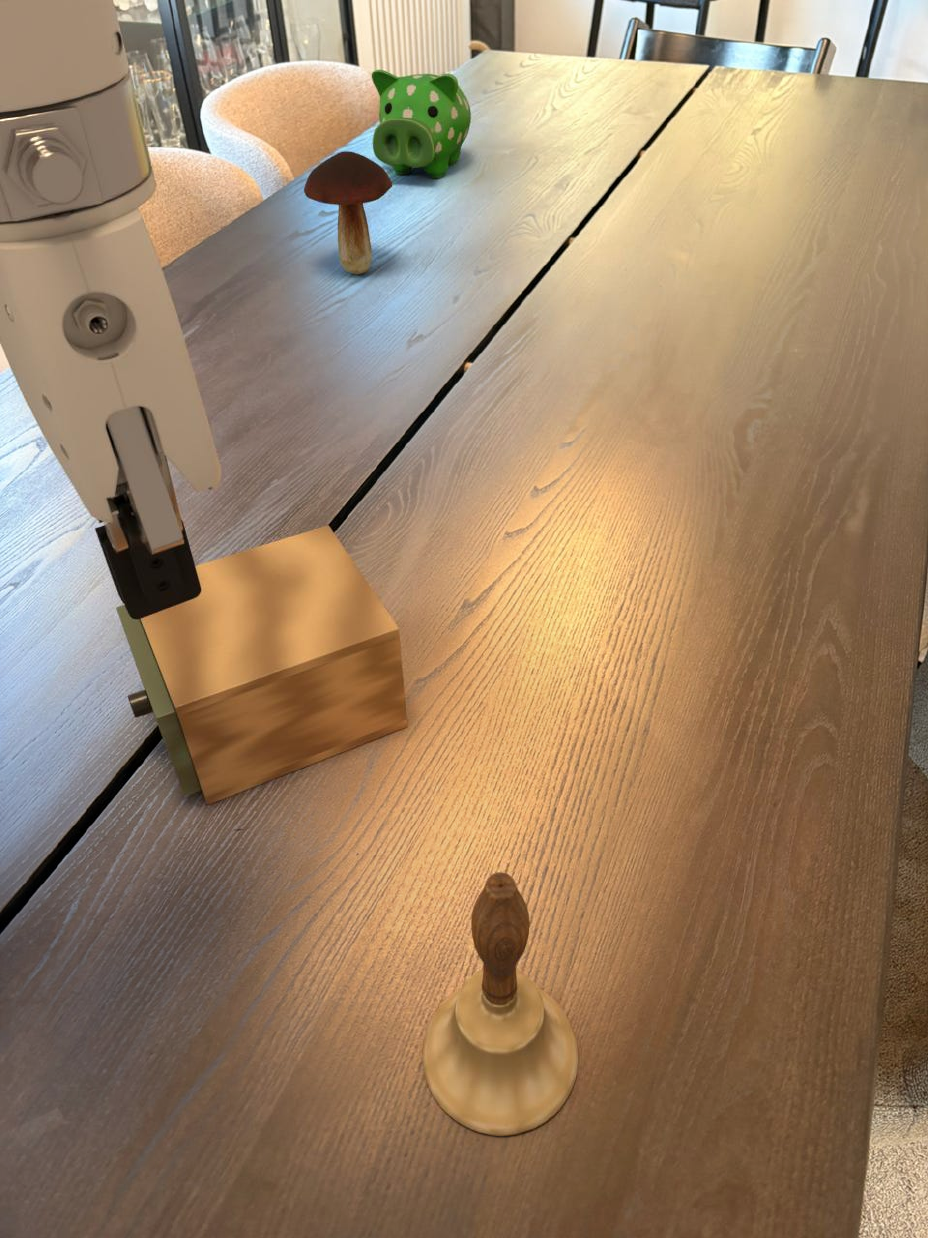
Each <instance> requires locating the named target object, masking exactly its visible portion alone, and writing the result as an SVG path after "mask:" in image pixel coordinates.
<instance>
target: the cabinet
mask: <svg viewBox="0 0 928 1238" xmlns="http://www.w3.org/2000/svg"><path fill="white" fill-rule="evenodd" d="M195 567H196V571H197V574H198V578H199V581H200V585H201V593H200V595H199V596H198V597H196V598H194V599H191V600H189V601H186V602H184V603H181V604H178V605H176V606H173V607H170V608H168V609H165V610H162V611H160V612H157V613H155V614H152V615H149V616H147V617H144V618H141V619H140V620H141V623H142V625H143V628H144V631H145V633H146V636H147V638H148V641H149V643H150V646H151V649H152V651H153V654H154V656H155V659H156V662H157V664H158V667H159V669H160V672H161V674H162V677H163V680H164V682H165V685H166V687H167V690H168V693H169V695H170V698H171V700H172V703H173V705H174V708H175V711H176V713H177V716H178V720H179V723H180V726H181V729H182V732H183V735H184V738H185V741H186V744H187V747H188V750H189V753H190V756H191V759H192V762H193V765H194V768H195V771H196V774H197V777H198V780H199V783H200V786H201V793H202V795H203V798H204V800H205V803H206V805H207V806H209V805H212V804H214V803H216V802H219V801H221V800H224V799H226V798H230V797H232V796H234V795H237V794H241V793H242V792H245V791H247V790H249V789H252V788H255V787H257V786H260V785H262V784H265V783H268V782H271V781H272V780H276V779H278V778H280V777H282V776H283V777H284V776H285V775H288V774H291V773H293V772H295V771H298V770H301V769H303V768H305V767H308V766H310V765H313V764H316V763H318V762H321V761H325V760H326V759H329V758H331V757H334V756H336V755H339V754H342V753H344V752H347V751H349V750H351V749H354V748H357V747H360V746H362V745H365V744H367V743H370V742H372V741H375V740H377V739H380V738H382V737H385V736H387V735H390V734H393V733H396V732H398V731H400V730H403V729H405V728H408V715H407V703H406V693H405V681H404V679H405V678H404V670H403V658H402V647H401V636H400V628H399V626H398V625H397V623H396V622H395V620H394V619H393V618H392V616H391V614H390V613H389V612H388V610H387V609H386V607H385V606H384V604H383V602H382V601H381V600H380V598H379V597H378V596H377V594H376V593H375V591H374V589H373V588H372V587H371V586H370V584H369V582H368V580H367V579H366V578H365V576H364V575H363V573H362V572H361V570H360V569H359V567H358V566H357V565H356V563H355V562H354V560H353V559H352V557H351V556H350V554H349V553H348V551H347V550H346V549H345V547H344V545H342V543H341V541H340V539H338V536H336V534H335V532H334V531H333V529H332V527H330V525H329V524H328V525H324V526H321V527H317V528H314V529H311V530H307V531H304V532H301V533H298V534H294V535H291V536H288V537H285V538H281V539H279V540H275V541H272V542H269V543H265V544H262V545H259V546H255V547H252V548H249V549H246V550H243V551H239V552H236V553H233V554H230V555H226V556H223V557H220V558H216V559H212V560H211V561H207V562H203V563H200V564H197V565H195Z"/></svg>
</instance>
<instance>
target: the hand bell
mask: <svg viewBox="0 0 928 1238" xmlns="http://www.w3.org/2000/svg"><path fill="white" fill-rule="evenodd" d="M470 919H471V920H470V923H471V924H470V927H471V928H470V929H471V938H472V942H473V945H474V949H475V951H476V953H477V955H478V957H479V959H480V960H481V962H482V964H483V966H482V967H483V969H481V970H479V971H477V972H475V973H474V974H472V975H471V976H470V977H468V979H466V980H465V981H464V983H463V984H462V986H461V987H459V988H458V989H457V990H455V991H453V992H452V993H451V994H450V995H448V996H447V997H446V998H445V1000H443V1002H442V1003H440V1004H439V1006H438V1007H437V1008H436V1010H435V1011H434V1012H433V1015H432V1016H431V1018H430V1019H429V1022H428V1025H427V1027H426V1030H425V1033H424V1036H423V1043H422V1052H421V1053H422V1055H421V1056H422V1058H421V1059H422V1069H423V1072H424V1073H423V1074H424V1077H425V1081H426V1084H427V1086H428V1088H429V1090H430V1092H431V1095H432V1097H433V1099H435V1101H436V1102H437V1104H438V1105H439V1107H440V1108H441V1109H442V1110H443V1111H444V1113H446V1114H447V1115H448V1116H449V1117H450V1118H452V1119H453V1120H454V1121H455V1122H457V1123H459V1124H460V1125H462V1126H463V1127H465V1128H468V1129H469V1130H471V1131H475V1132H477V1133H480V1134H484V1135H489V1136H496V1137H497V1136H498V1137H504V1136H505V1137H506V1136H513V1135H518V1134H522V1133H525V1132H528V1131H531V1130H534V1129H536V1128H537V1127H539V1126H541V1125H543V1124H545V1123H546V1122H548V1121H549V1120H550V1119H551V1118H552V1117H553V1116H555V1115H556V1114H557V1113H558V1112H559V1111H560V1110H561V1108H562V1107H563V1106H564V1104H565V1103H566V1101H567V1100H568V1098H569V1096H570V1095H571V1092H572V1090H573V1089H574V1086H575V1083H576V1080H577V1076H578V1071H579V1056H580V1055H579V1054H580V1053H579V1045H578V1041H577V1036H576V1032H575V1030H574V1027H573V1024H572V1022H571V1021H570V1019H569V1017H568V1015H567V1013H566V1012H565V1011H564V1009H563V1008H562V1007H561V1005H560V1004H559V1003H558V1002H557V1001H556V1000H555V999H554V998H553V997H552V996H551V995H550V994H549V993H547V992H546V991H544V990H543V989H542V988H540V987H538V986H537V985H536V984H535V982H534V981H533V980H532V979H531V978H530V977H529V976H528V975H526V974H525V973H523V972H521V970H518V969H517V964H518V962H519V961H520V960H521V958H522V956H523V954H524V953H525V950H526V948H527V944H528V940H529V935H530V914H529V910H528V906H527V904H526V901H525V899H524V898H523V896H522V894H521V892H520V891H519V889H518V887H517V885H516V880H515V879H514V878H513V877H512V876H511V875H510V874H509V873H506V872H504V871H503V872H502V871H501V872H500V871H499V872H494V873H492V874H491V875H490V876H489V877H488V878H487V880H486V881H485V884H484V887H483V889H482V890H481V892H480V893H479V895H478V897H477V898H476V900H475V903H474V904H473V908H472V912H471V917H470Z"/></svg>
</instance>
